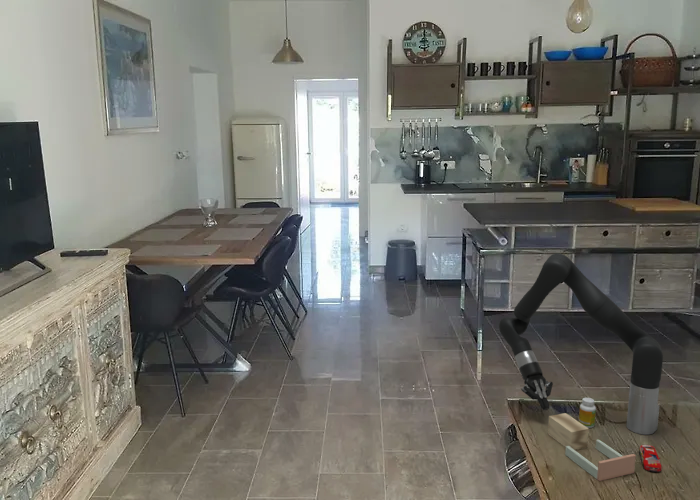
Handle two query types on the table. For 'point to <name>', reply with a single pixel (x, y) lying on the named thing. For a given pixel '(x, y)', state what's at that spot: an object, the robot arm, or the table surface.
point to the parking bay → (604, 462)
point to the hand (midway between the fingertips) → (546, 409)
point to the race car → (650, 458)
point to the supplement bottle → (587, 412)
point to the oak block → (568, 431)
